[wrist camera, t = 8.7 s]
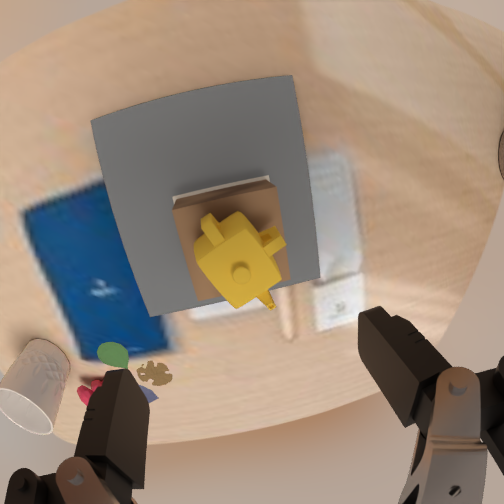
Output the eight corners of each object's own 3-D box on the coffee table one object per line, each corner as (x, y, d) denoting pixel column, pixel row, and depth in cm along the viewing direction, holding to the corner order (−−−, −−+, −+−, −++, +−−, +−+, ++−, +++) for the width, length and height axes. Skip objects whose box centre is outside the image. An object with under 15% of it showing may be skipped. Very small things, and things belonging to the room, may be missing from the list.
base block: (266, 179, 26) (276, 186, 22) (279, 260, 29) (290, 279, 26) (176, 199, 25) (171, 210, 22) (198, 279, 29) (198, 301, 25)
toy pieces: (134, 414, 36) (131, 438, 32) (70, 371, 32) (61, 394, 28) (190, 379, 35) (190, 405, 31) (120, 326, 31) (111, 350, 27)
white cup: (14, 334, 29) (-18, 385, 19) (59, 332, 29) (28, 391, 20) (40, 379, 32) (17, 430, 22) (83, 380, 32) (65, 438, 23)
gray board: (289, 76, 24) (292, 75, 23) (317, 274, 32) (320, 277, 31) (93, 121, 22) (90, 120, 21) (151, 312, 30) (150, 317, 29)
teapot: (297, 261, 25) (318, 291, 20) (239, 299, 25) (248, 336, 21) (244, 181, 22) (256, 194, 17) (180, 225, 22) (175, 250, 18)
